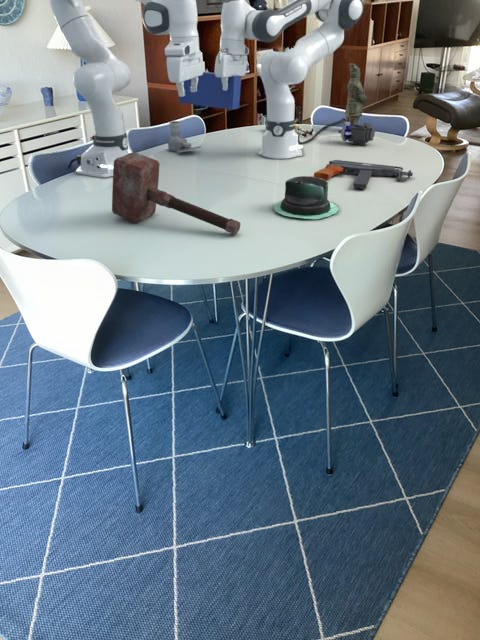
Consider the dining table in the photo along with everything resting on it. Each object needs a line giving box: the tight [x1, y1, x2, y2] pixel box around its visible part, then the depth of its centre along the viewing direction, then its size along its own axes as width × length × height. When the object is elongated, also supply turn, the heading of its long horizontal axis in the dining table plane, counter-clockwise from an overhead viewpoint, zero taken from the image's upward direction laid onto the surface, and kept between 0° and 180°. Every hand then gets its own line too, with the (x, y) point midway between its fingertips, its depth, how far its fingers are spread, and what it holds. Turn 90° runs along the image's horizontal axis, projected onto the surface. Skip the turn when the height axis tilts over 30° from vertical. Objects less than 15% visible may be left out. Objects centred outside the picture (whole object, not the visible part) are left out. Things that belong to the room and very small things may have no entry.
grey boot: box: [167, 120, 203, 154], centre depth 238 cm, size 9×12×15 cm
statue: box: [344, 62, 368, 127], centre depth 262 cm, size 11×9×30 cm
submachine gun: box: [313, 159, 414, 190], centre depth 199 cm, size 32×3×25 cm
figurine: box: [295, 118, 314, 138], centre depth 267 cm, size 13×8×25 cm
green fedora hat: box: [273, 175, 339, 220], centre depth 172 cm, size 15×19×20 cm
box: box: [178, 71, 242, 110], centre depth 211 cm, size 23×6×12 cm, turn 65°
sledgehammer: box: [111, 151, 241, 236], centre depth 161 cm, size 17×10×40 cm
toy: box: [338, 121, 376, 146], centre depth 244 cm, size 9×9×15 cm
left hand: (188, 94), depth 181 cm, fingers open, 8 cm apart
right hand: (229, 89), depth 208 cm, fingers closed on box, 6 cm apart
